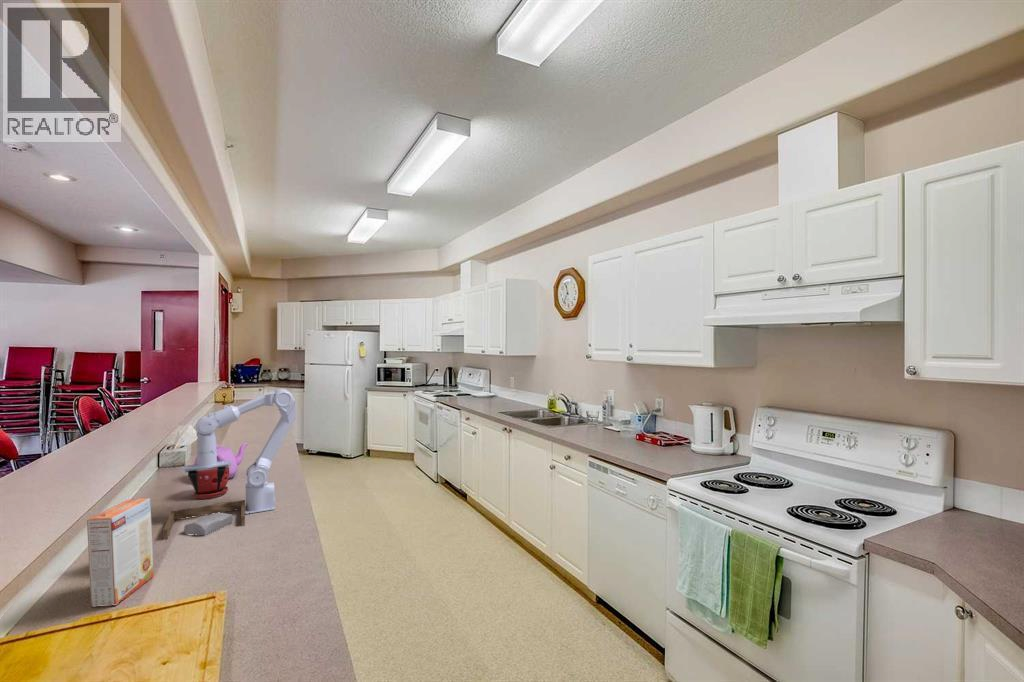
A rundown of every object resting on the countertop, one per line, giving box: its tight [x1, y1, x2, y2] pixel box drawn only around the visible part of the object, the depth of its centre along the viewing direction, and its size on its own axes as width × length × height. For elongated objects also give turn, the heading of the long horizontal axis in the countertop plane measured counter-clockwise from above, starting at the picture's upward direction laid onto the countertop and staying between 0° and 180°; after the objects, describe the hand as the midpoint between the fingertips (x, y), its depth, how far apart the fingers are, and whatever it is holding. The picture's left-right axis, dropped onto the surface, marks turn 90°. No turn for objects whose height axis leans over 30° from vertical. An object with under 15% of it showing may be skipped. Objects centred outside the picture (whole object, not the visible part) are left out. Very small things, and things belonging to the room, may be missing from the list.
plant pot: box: [190, 467, 230, 500], centre depth 193 cm, size 13×13×12 cm
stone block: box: [183, 512, 234, 537], centre depth 160 cm, size 12×5×10 cm
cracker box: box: [86, 497, 155, 607], centre depth 120 cm, size 14×6×21 cm, turn 5°
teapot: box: [193, 441, 251, 479], centre depth 217 cm, size 23×21×15 cm
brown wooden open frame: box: [162, 499, 246, 540], centre depth 165 cm, size 22×19×3 cm
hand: (207, 490), depth 169 cm, fingers open, 6 cm apart
